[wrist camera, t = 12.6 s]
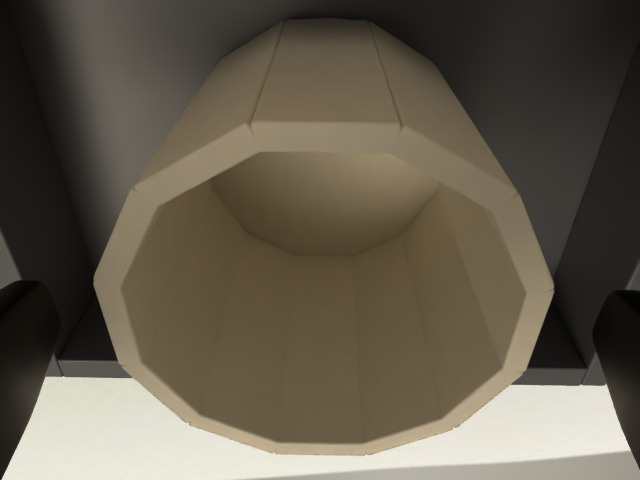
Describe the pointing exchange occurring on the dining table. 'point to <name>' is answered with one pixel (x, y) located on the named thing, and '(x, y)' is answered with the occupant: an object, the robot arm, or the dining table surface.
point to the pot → (324, 251)
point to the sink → (306, 3)
